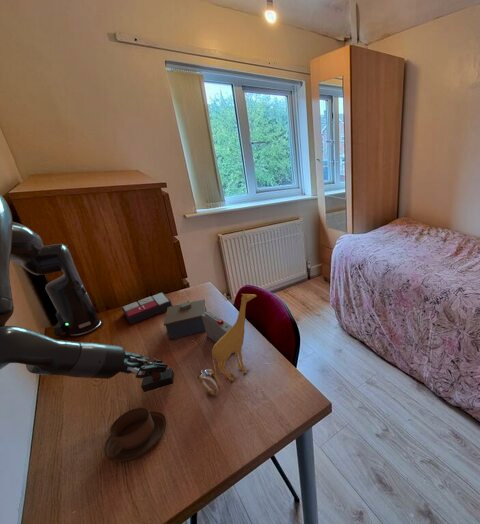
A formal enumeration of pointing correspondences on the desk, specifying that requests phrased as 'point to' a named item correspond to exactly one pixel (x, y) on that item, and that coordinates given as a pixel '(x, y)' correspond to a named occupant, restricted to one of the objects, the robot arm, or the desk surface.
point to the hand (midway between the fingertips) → (162, 366)
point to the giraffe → (232, 340)
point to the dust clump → (185, 305)
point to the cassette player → (215, 326)
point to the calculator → (146, 307)
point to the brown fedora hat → (134, 434)
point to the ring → (205, 375)
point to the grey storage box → (185, 319)
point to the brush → (157, 378)
